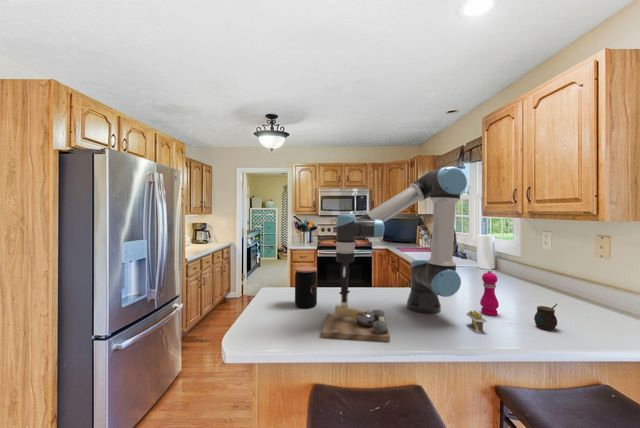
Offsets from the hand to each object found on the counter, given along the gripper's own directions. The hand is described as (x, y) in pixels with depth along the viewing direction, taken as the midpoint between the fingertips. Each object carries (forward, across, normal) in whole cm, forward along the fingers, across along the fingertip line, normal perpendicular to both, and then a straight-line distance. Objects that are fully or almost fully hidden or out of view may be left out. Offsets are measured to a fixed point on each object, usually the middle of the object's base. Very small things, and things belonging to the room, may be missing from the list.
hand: (344, 309), depth 118 cm
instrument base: (+5, +6, +5) cm, 9 cm away
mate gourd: (+5, -8, +80) cm, 80 cm away
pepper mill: (+6, -21, +64) cm, 68 cm away
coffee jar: (+7, -19, -20) cm, 28 cm away
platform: (+6, -3, +52) cm, 52 cm away
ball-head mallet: (+3, +4, +4) cm, 7 cm away
